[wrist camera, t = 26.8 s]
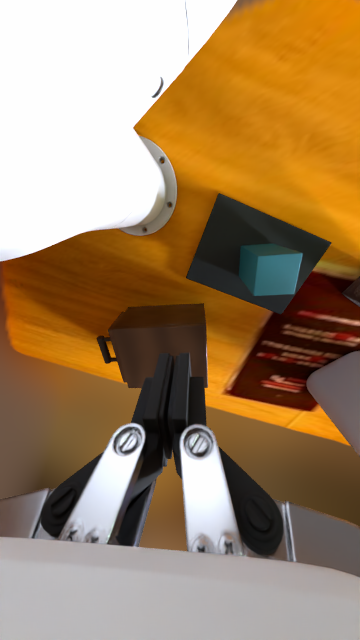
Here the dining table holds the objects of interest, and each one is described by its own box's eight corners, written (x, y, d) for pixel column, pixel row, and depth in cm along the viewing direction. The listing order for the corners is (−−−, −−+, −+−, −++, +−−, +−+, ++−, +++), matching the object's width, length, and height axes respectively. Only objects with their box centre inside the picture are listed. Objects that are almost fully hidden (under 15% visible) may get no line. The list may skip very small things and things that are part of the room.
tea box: (238, 276, 34) (253, 296, 26) (240, 245, 32) (257, 256, 23) (268, 274, 34) (294, 294, 25) (272, 243, 31) (303, 252, 23)
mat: (186, 277, 36) (185, 278, 35) (218, 193, 29) (218, 193, 29) (280, 313, 38) (281, 314, 37) (329, 242, 31) (331, 242, 31)
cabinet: (140, 358, 46) (128, 388, 38) (128, 306, 39) (111, 329, 31) (205, 357, 44) (207, 387, 36) (204, 303, 38) (206, 325, 30)
